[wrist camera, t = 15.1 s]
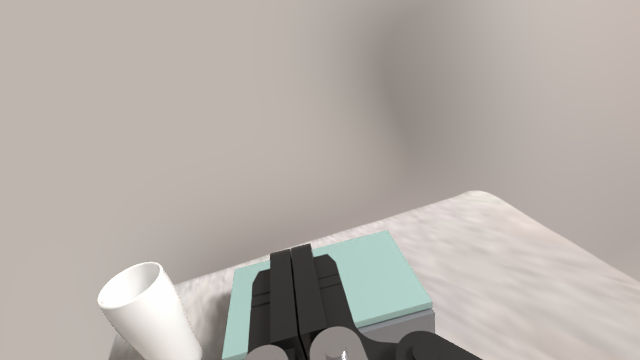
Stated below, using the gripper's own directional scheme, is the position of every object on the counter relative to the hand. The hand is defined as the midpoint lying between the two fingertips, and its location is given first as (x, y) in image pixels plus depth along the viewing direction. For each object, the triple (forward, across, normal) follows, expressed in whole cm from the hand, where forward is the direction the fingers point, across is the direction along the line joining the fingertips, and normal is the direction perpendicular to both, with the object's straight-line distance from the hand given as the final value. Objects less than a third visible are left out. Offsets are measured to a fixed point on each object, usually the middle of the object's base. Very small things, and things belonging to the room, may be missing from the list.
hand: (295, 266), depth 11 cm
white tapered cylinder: (+19, +20, +28) cm, 39 cm away
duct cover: (+20, 0, +23) cm, 31 cm away
